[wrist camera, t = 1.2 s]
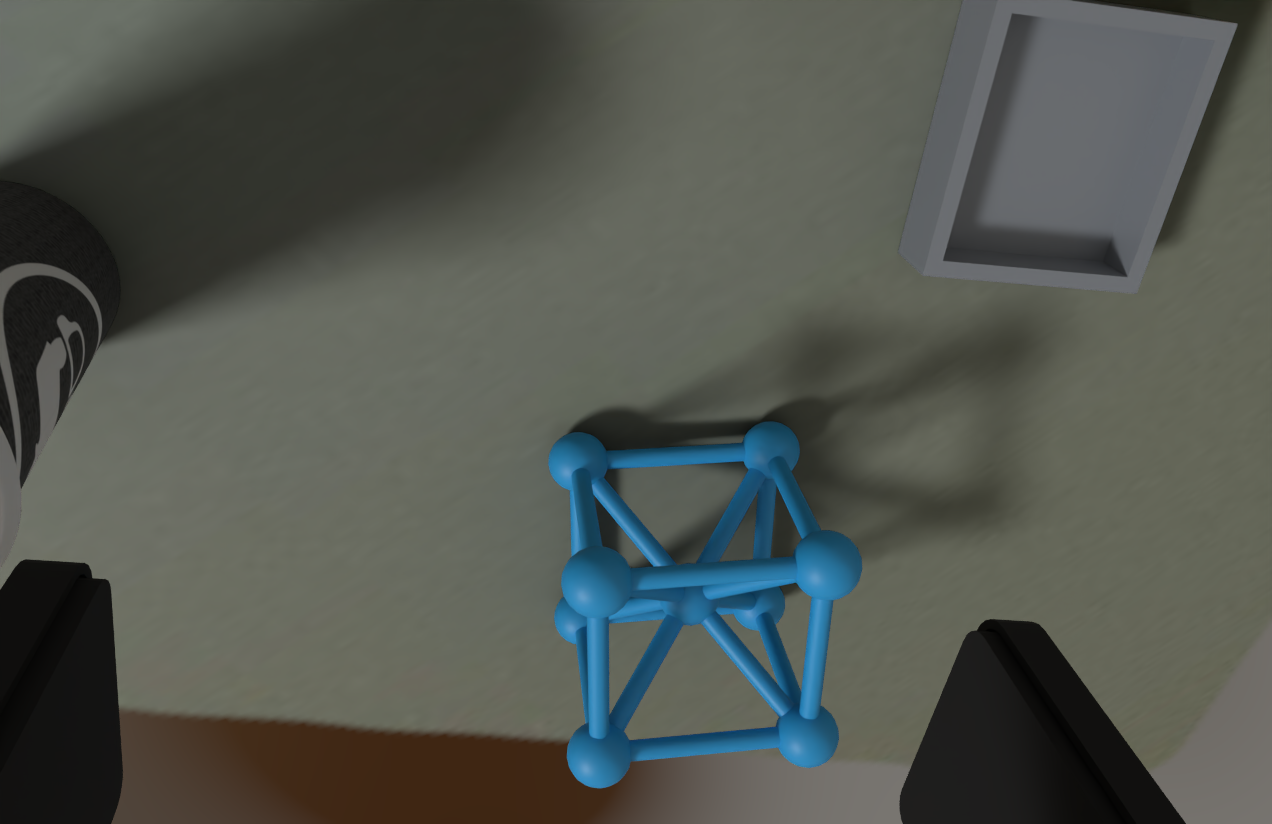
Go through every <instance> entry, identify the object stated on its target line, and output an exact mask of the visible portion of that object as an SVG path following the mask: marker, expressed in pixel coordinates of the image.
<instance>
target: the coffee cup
mask: <svg viewBox="0 0 1272 824" xmlns="http://www.w3.org/2000/svg"><path fill="white" fill-rule="evenodd" d="M119 299H120V282H119V275H118V271H117V267H116V264H115V261H114V259H113V256H112V254H111V252H110V250H109V248H108V246H107V245H106V243H105V242H104V240H103V239H102V237H101V236H100V234H99V233H98V232H97V231H96V229H95V228H94V227H93V226H92V225H91V224H90V223H89V222H88V221H87V220H86V219H85V218H84V217H83V216H82V215H81V214H80V213H78V212H77V211H76V210H75V209H73V208H72V207H70V206H69V205H68V204H66V203H64V202H63V201H61V200H60V199H58V198H56V197H54V196H52V195H50V194H48V193H46V192H43V191H41V190H38V189H35V188H32V187H29V186H26V185H22V184H17V183H11V182H2V181H0V568H1V567H2V565H3V564H4V562H5V560H6V559H7V557H8V555H9V553H10V551H11V549H12V546H13V544H14V541H15V538H16V535H17V532H18V528H19V523H20V516H21V488H22V486H23V484H24V483H25V481H26V479H27V477H28V475H29V473H30V471H31V470H32V468H33V466H34V464H35V462H36V460H37V459H38V457H39V455H40V453H41V451H42V449H43V448H44V446H45V444H46V442H47V440H48V438H49V437H50V435H51V433H52V431H53V429H54V427H55V426H56V424H57V422H58V420H59V418H60V417H61V415H62V413H63V411H64V409H65V407H66V406H67V404H68V402H69V400H70V398H71V397H72V395H73V393H74V391H75V389H76V388H77V386H78V384H79V382H80V380H81V378H82V377H83V375H84V373H85V371H86V369H87V368H88V366H89V364H90V362H91V360H92V359H93V357H94V355H95V353H96V351H97V350H98V348H99V346H100V344H101V342H102V341H103V339H104V337H105V335H106V333H107V331H108V330H109V328H110V326H111V324H112V322H113V320H114V318H115V315H116V313H117V309H118V305H119Z"/></svg>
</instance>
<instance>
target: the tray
mask: <svg viewBox="0 0 1272 824" xmlns="http://www.w3.org/2000/svg"><path fill="white" fill-rule="evenodd" d="M1237 25H1238V24H1237V23H1232V22H1227V21H1222V20H1218V19H1213V18H1208V17H1203V16H1198V15H1193V14H1187V13H1180V12H1172V11H1165V10H1158V9H1151V8H1144V7H1137V6H1129V5H1122V4H1115V3H1108V2H1101V1H1094V0H963V2H962V6H961V10H960V13H959V17H958V21H957V25H956V29H955V33H954V37H953V41H952V44H951V48H950V52H949V56H948V60H947V64H946V68H945V72H944V75H943V79H942V83H941V87H940V91H939V95H938V99H937V103H936V106H935V110H934V114H933V118H932V122H931V126H930V130H929V134H928V138H927V141H926V145H925V149H924V153H923V157H922V161H921V165H920V169H919V172H918V176H917V180H916V184H915V188H914V192H913V196H912V200H911V203H910V207H909V211H908V215H907V219H906V223H905V227H904V231H903V234H902V238H901V242H900V246H899V250H898V253H899V254H900V255H901V256H902V257H903V258H904V259H905V260H906V261H907V262H909V263H910V264H911V265H912V266H913V267H914V268H915V269H916V270H917V271H918V272H919V273H920V274H921V275H923V276H933V277H945V278H957V279H969V280H980V281H992V282H1004V283H1016V284H1028V285H1039V286H1051V287H1063V288H1075V289H1087V290H1098V291H1110V292H1122V293H1134V294H1137V291H1138V289H1139V286H1140V283H1141V281H1142V278H1143V275H1144V273H1145V270H1146V267H1147V265H1148V262H1149V259H1150V257H1151V254H1152V251H1153V249H1154V246H1155V243H1156V241H1157V238H1158V235H1159V233H1160V230H1161V228H1162V225H1163V222H1164V220H1165V217H1166V214H1167V212H1168V209H1169V206H1170V204H1171V201H1172V198H1173V196H1174V193H1175V190H1176V188H1177V185H1178V182H1179V180H1180V177H1181V174H1182V172H1183V169H1184V166H1185V164H1186V161H1187V158H1188V156H1189V153H1190V150H1191V148H1192V145H1193V142H1194V140H1195V137H1196V134H1197V132H1198V129H1199V126H1200V124H1201V121H1202V118H1203V116H1204V113H1205V110H1206V108H1207V105H1208V102H1209V100H1210V97H1211V94H1212V92H1213V89H1214V86H1215V84H1216V81H1217V78H1218V76H1219V73H1220V70H1221V68H1222V65H1223V62H1224V60H1225V57H1226V54H1227V52H1228V49H1229V46H1230V44H1231V41H1232V39H1233V36H1234V33H1235V31H1236V28H1237Z"/></svg>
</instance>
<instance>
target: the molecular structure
mask: <svg viewBox="0 0 1272 824" xmlns="http://www.w3.org/2000/svg"><path fill="white" fill-rule="evenodd" d="M799 455H800V448H799V442H798V440H797V437H796V435H795V434H794V433H793V432H792V430H791V429H790V428H788V427H787V426H785V425H784V424H782V423H778V422H774V421H769V422H762V423H759V424H757V425H755V426H754V427H752V428H751V429H750V430H749V431H748V432H747V434H746V435H745V437H744V438H743V442H742V443H732V444H715V445H698V446H680V447H663V448H646V449H629V450H612V451H606V450H605V448H604V446H603V444H602V443H601V442H600V441H599V440H598V439H597V438H596V437H594V436H592V435H590V434H587V433H583V432H573V433H570V434H567V435H565V436H563V437H562V438H560V439H559V440H558V441H557V442H556V443H555V444H554V445H553V447H552V450H551V452H550V454H549V463H548V464H549V468H550V473H551V475H552V476H553V478H554V480H555V481H556V482H557V483H558V484H559V485H560V486H561V487H563V488H565V489H568V490H570V514H571V551H572V557H571V558H570V559H569V561H568V562H567V564H566V566H565V568H564V571H563V573H562V582H561V586H562V590H563V595H564V597H563V598H561V600H560V601H559V603H558V605H557V607H556V610H555V617H554V620H555V624H556V628H557V630H558V632H559V633H560V635H561V636H562V637H563V638H564V639H565V640H567V641H569V642H571V643H573V644H576V645H577V654H578V662H579V671H580V679H581V688H582V696H583V705H584V713H585V722H586V724H584V725H582V726H581V727H580V728H579V729H577V730H576V731H575V733H574V734H573V736H572V737H571V739H570V742H569V745H568V751H567V759H568V764H569V767H570V769H571V771H572V773H573V774H574V776H575V777H576V778H577V780H579V781H580V782H582V783H583V784H585V785H587V786H589V787H595V788H604V787H609V786H611V785H613V784H615V783H617V782H618V781H619V780H620V779H621V778H622V777H623V776H624V775H625V773H626V772H627V770H628V769H629V766H630V762H631V761H641V760H651V759H662V758H673V757H683V756H694V755H704V754H715V753H726V752H736V751H747V750H757V749H768V748H779V750H780V752H781V753H782V755H783V756H784V757H785V758H786V759H787V760H788V761H790V762H791V763H793V764H795V765H797V766H801V767H807V768H811V767H816V766H820V765H822V764H823V763H825V762H827V761H828V760H829V759H830V758H831V757H832V756H833V754H834V752H835V750H836V748H837V745H838V740H839V733H838V727H837V725H836V722H835V720H834V718H833V716H832V715H831V714H830V713H829V712H828V711H827V710H826V709H825V708H824V707H822V706H820V705H821V697H822V689H823V681H824V672H825V664H826V656H827V648H828V640H829V632H830V624H831V616H832V608H833V600H836V599H840V598H842V597H844V596H845V595H847V594H849V593H850V592H851V591H852V590H853V589H854V588H855V586H856V585H857V583H858V581H859V579H860V576H861V572H862V559H861V556H860V553H859V551H858V548H857V547H856V546H855V545H854V543H853V542H852V541H851V540H850V539H849V538H848V537H846V536H845V535H843V534H841V533H838V532H835V531H830V530H822V531H821V529H820V527H819V525H818V523H817V521H816V519H815V517H814V515H813V513H812V511H811V509H810V507H809V505H808V503H807V501H806V499H805V497H804V496H803V494H802V492H801V490H800V488H799V486H798V484H797V482H796V480H795V478H794V476H793V474H792V472H791V471H792V470H793V468H794V467H795V465H796V464H797V462H798V458H799ZM737 461H744V464H745V466H746V467H747V468H748V469H749V470H748V472H747V474H746V476H745V477H744V479H743V481H742V483H741V484H740V486H739V488H738V490H737V491H736V493H735V495H734V497H733V498H732V500H731V502H730V504H729V506H728V507H727V509H726V511H725V513H724V514H723V516H722V518H721V520H720V521H719V523H718V525H717V527H716V528H715V530H714V532H713V534H712V535H711V537H710V539H709V541H708V543H707V544H706V546H705V548H704V550H703V551H702V553H701V555H700V557H699V558H698V560H697V562H696V564H690V563H686V564H681V565H677V564H676V563H675V562H674V560H673V559H672V558H671V557H670V556H669V554H668V553H667V552H666V551H665V550H664V549H663V547H662V546H661V545H660V544H659V543H658V541H657V540H656V539H655V538H654V537H653V535H652V534H651V533H650V532H649V531H648V529H647V528H646V527H645V526H644V525H643V524H642V522H641V521H640V520H639V519H638V518H637V516H636V515H635V514H634V513H633V512H632V510H631V509H630V508H629V507H628V506H627V505H626V503H625V502H624V501H623V500H622V499H621V497H620V496H619V495H618V494H617V493H616V491H615V490H614V489H613V488H612V487H611V485H610V484H609V483H608V482H607V481H606V480H605V478H604V476H605V474H606V471H607V469H622V468H638V467H655V466H671V465H688V464H704V463H721V462H737ZM776 486H777V487H778V489H779V491H780V493H781V495H782V498H783V500H784V502H785V504H786V506H787V508H788V510H789V512H790V514H791V517H792V519H793V521H794V523H795V525H796V527H797V529H798V531H799V534H800V536H801V538H802V540H801V541H800V542H799V544H798V545H797V547H796V548H795V550H794V552H793V556H792V557H779V558H770V557H771V545H772V533H773V522H774V510H775V498H776ZM757 492H758V499H757V512H756V525H755V538H754V552H753V559H752V560H738V561H724V562H719V560H720V558H721V556H722V555H723V553H724V551H725V549H726V548H727V546H728V544H729V542H730V540H731V539H732V537H733V535H734V533H735V531H736V530H737V528H738V526H739V524H740V522H741V521H742V519H743V517H744V515H745V514H746V512H747V510H748V508H749V506H750V505H751V503H752V501H753V499H754V497H755V496H756V494H757ZM594 496H595V497H596V498H597V499H598V500H599V502H600V503H601V504H602V505H603V506H604V508H605V509H606V510H607V511H608V512H609V514H610V515H611V516H612V517H613V518H614V520H615V521H616V522H617V523H618V524H619V526H620V527H621V528H622V529H623V530H624V532H625V533H626V534H627V535H628V536H629V538H630V539H631V540H632V541H633V542H634V544H635V545H636V546H637V547H638V548H639V549H640V551H641V552H642V553H643V554H644V555H645V557H646V558H647V559H648V560H649V561H650V563H651V564H652V565H653V566H654V567H641V568H630V566H629V565H628V563H627V561H626V559H625V558H623V557H622V556H621V555H620V554H619V553H618V552H617V551H615V550H613V549H610V548H608V547H603V546H602V541H601V535H600V529H599V523H598V517H597V512H596V506H595V500H594ZM792 583H797V584H798V586H799V587H800V588H801V589H802V590H803V591H804V592H805V593H806V594H808V595H809V596H812V600H811V609H810V618H809V627H808V636H807V645H806V654H805V663H804V672H803V681H802V690H801V691H800V688H799V685H798V683H797V680H796V678H795V675H794V672H793V670H792V667H791V664H790V662H789V659H788V657H787V654H786V651H785V649H784V646H783V644H782V641H781V638H780V636H779V633H778V631H777V628H776V624H777V623H778V622H779V620H780V619H781V617H782V615H783V613H784V609H785V598H784V595H783V593H782V590H781V589H780V587H779V586H782V585H787V584H792ZM724 614H734V615H735V617H736V619H737V621H739V622H740V623H741V624H742V625H743V626H744V627H746V628H749V629H751V630H758V631H759V632H760V635H761V638H762V640H763V643H764V646H765V649H766V651H767V654H768V657H769V660H770V663H771V665H772V668H773V671H774V674H775V677H776V679H777V682H778V684H777V683H776V682H775V681H774V679H773V678H772V677H771V676H770V675H769V674H768V672H767V671H766V670H765V669H764V668H763V666H762V665H761V664H760V663H759V662H758V660H757V659H756V658H755V657H754V656H753V654H752V653H751V652H750V651H749V650H748V649H747V647H746V646H745V645H744V644H743V643H742V641H741V640H740V639H739V638H738V637H737V635H736V634H735V633H734V632H733V631H732V629H731V628H730V627H729V626H728V625H727V624H726V622H725V621H724V620H723V619H722V618H721V616H720V615H724ZM660 619H664V620H663V622H662V624H661V625H660V627H659V629H658V631H657V632H656V634H655V636H654V638H653V640H652V641H651V643H650V645H649V647H648V648H647V650H646V652H645V654H644V655H643V657H642V659H641V661H640V662H639V664H638V666H637V668H636V669H635V671H634V673H633V675H632V677H631V678H630V680H629V682H628V684H627V685H626V687H625V689H624V691H623V692H622V694H621V696H620V698H619V699H618V701H617V703H616V705H615V707H614V708H613V710H612V712H611V714H610V715H609V623H622V622H635V621H647V620H660ZM700 623H701V624H702V625H703V626H704V627H705V629H706V630H707V631H708V632H709V633H710V635H711V636H712V637H713V638H714V639H715V641H716V642H717V643H718V644H719V645H720V647H721V648H722V649H723V650H724V651H725V652H726V654H727V655H728V656H729V657H730V658H731V660H732V661H733V662H734V663H735V664H736V666H737V667H738V668H739V669H740V670H741V672H742V673H743V674H744V675H745V676H746V678H747V679H748V680H749V681H750V682H751V684H752V685H753V686H754V687H755V688H756V690H757V691H758V692H759V693H760V694H761V696H762V697H763V698H764V699H765V700H766V702H767V703H768V704H769V705H770V706H771V708H772V709H773V710H774V711H775V712H776V714H777V715H778V716H779V718H778V720H777V724H776V727H768V728H758V729H747V730H736V731H725V732H714V733H703V734H693V735H682V736H671V737H660V738H649V739H638V740H629V739H628V737H627V736H626V734H625V732H624V730H625V728H626V726H627V724H628V723H629V721H630V719H631V717H632V716H633V714H634V712H635V710H636V708H637V707H638V705H639V703H640V701H641V699H642V698H643V696H644V694H645V692H646V690H647V689H648V687H649V685H650V683H651V682H652V680H653V678H654V676H655V674H656V673H657V671H658V669H659V667H660V665H661V664H662V662H663V660H664V658H665V657H666V655H667V653H668V651H669V649H670V648H671V646H672V644H673V642H674V640H675V639H676V637H677V635H678V633H679V631H680V630H681V628H682V626H683V625H690V626H691V625H696V624H700Z"/></svg>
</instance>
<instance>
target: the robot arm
mask: <svg viewBox="0 0 1272 824" xmlns="http://www.w3.org/2000/svg"><path fill="white" fill-rule="evenodd" d="M122 778H123V767H122V752H121V736H120V721H119V705H118V690H117V674H116V659H115V644H114V628H113V613H112V597H111V587H110V583H109V581H108V580H106V579H94V578H92V573H91V570H90V567H89V565H87V564H85V563H75V562H59V561H42V560H23V561H21V562H20V563H19V564H18V565H17V566H16V567H15V568H14V570H13V571H12V573H11V574H10V576H9V577H8V579H7V581H6V582H5V584H4V585H3V587H2V588H1V590H0V824H111V822H112V820H113V817H114V814H115V812H116V809H117V806H118V802H119V798H120V793H121V788H122ZM900 814H901V820H902V822H903V824H1186V823H1185V822H1184V820H1183V819H1182V818H1181V816H1180V815H1179V813H1178V812H1177V811H1176V809H1175V808H1174V807H1173V805H1172V804H1171V803H1170V801H1169V800H1168V798H1167V797H1166V796H1165V794H1164V793H1163V792H1162V790H1161V789H1160V788H1159V786H1158V785H1157V783H1156V782H1155V781H1154V779H1153V778H1152V777H1151V775H1150V774H1149V772H1148V771H1147V770H1146V768H1145V767H1144V766H1143V764H1142V763H1141V761H1140V760H1139V759H1138V757H1137V756H1136V755H1135V753H1134V752H1133V750H1132V749H1131V748H1130V746H1129V745H1128V744H1127V742H1126V741H1125V739H1124V738H1123V737H1122V735H1121V734H1120V733H1119V731H1118V730H1117V729H1116V727H1115V726H1114V724H1113V723H1112V722H1111V720H1110V719H1109V718H1108V716H1107V715H1106V713H1105V712H1104V711H1103V709H1102V708H1101V707H1100V705H1099V704H1098V703H1097V701H1096V700H1095V698H1094V697H1093V696H1092V694H1091V693H1090V692H1089V690H1088V689H1087V687H1086V686H1085V685H1084V683H1083V682H1082V681H1081V679H1080V678H1079V677H1078V675H1077V674H1076V672H1075V671H1074V670H1073V668H1072V667H1071V666H1070V664H1069V663H1068V661H1067V660H1066V659H1065V657H1064V656H1063V655H1062V653H1061V652H1060V650H1059V649H1058V648H1057V646H1056V645H1055V644H1054V642H1053V641H1052V640H1051V638H1050V637H1049V635H1048V634H1047V633H1046V631H1045V630H1044V629H1043V628H1042V627H1041V626H1040V625H1039V624H1037V623H1034V622H1028V621H1012V620H996V619H990V620H985V621H984V622H983V623H982V624H981V625H980V626H979V628H978V629H977V631H971V632H970V633H968V634H967V635H966V637H965V639H964V641H963V643H962V646H961V648H960V650H959V653H958V655H957V658H956V660H955V663H954V665H953V667H952V670H951V672H950V675H949V677H948V679H947V682H946V684H945V687H944V689H943V691H942V694H941V696H940V699H939V701H938V704H937V706H936V708H935V711H934V713H933V716H932V718H931V720H930V723H929V725H928V728H927V730H926V733H925V735H924V737H923V740H922V742H921V745H920V747H919V749H918V752H917V754H916V757H915V759H914V761H913V764H912V766H911V769H910V771H909V774H908V776H907V778H906V781H905V783H904V786H903V788H902V791H901V795H900Z"/></svg>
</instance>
